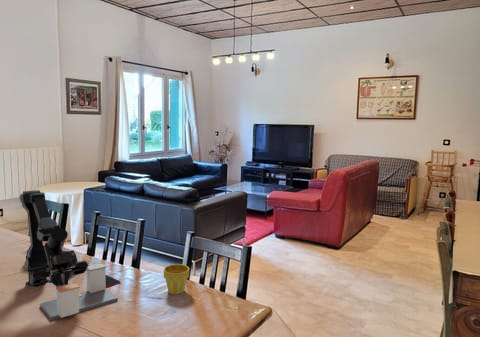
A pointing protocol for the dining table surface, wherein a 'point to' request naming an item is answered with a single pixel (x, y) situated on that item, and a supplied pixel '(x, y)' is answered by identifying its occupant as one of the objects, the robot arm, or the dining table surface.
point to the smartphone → (110, 281)
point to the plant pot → (176, 278)
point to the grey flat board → (81, 302)
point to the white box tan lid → (67, 299)
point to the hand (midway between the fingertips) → (65, 293)
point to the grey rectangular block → (96, 278)
